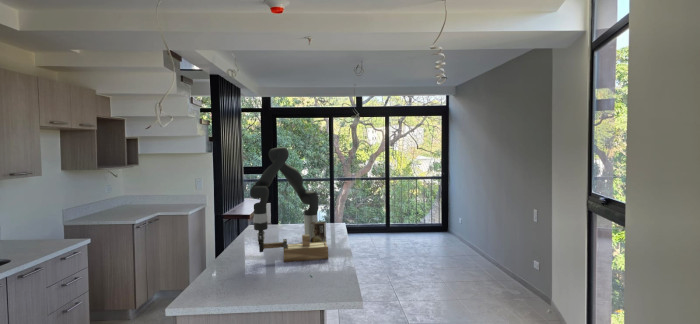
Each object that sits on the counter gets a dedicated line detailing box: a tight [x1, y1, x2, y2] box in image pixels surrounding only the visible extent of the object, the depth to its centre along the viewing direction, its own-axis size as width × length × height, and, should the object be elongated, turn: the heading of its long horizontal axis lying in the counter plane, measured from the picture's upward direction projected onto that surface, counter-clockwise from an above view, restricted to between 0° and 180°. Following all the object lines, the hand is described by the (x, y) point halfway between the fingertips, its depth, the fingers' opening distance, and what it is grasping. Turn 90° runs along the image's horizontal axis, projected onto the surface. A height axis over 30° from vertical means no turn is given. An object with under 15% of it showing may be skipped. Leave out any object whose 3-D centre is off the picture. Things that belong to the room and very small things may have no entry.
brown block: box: [263, 241, 283, 251], centre depth 221 cm, size 3×14×3 cm, turn 100°
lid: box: [288, 234, 325, 249], centre depth 225 cm, size 9×21×7 cm, turn 100°
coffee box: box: [310, 221, 327, 243], centre depth 245 cm, size 9×6×16 cm
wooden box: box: [282, 238, 329, 263], centre depth 225 cm, size 12×25×11 cm, turn 100°
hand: (261, 250), depth 221 cm, fingers open, 4 cm apart
